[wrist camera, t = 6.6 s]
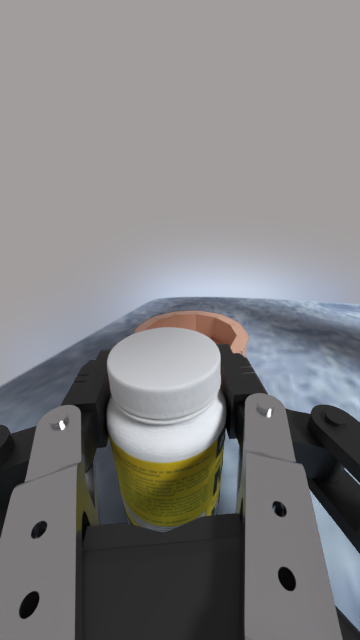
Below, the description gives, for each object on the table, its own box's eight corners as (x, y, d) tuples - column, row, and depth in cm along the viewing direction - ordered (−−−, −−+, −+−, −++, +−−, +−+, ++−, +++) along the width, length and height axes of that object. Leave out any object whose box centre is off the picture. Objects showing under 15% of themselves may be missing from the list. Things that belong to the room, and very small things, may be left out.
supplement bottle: (232, 544, 9) (258, 391, 6) (119, 566, 9) (73, 412, 5) (205, 442, 14) (211, 318, 10) (128, 452, 13) (106, 326, 10)
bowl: (227, 332, 26) (229, 309, 25) (261, 393, 17) (266, 361, 16) (142, 336, 26) (139, 312, 24) (129, 401, 16) (124, 369, 15)
